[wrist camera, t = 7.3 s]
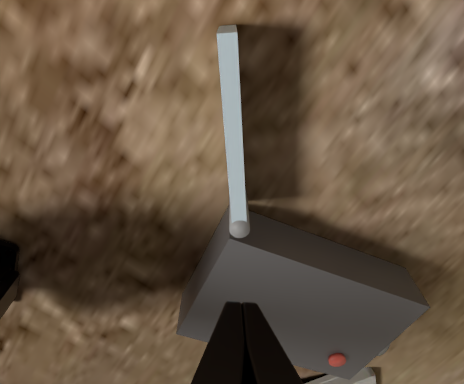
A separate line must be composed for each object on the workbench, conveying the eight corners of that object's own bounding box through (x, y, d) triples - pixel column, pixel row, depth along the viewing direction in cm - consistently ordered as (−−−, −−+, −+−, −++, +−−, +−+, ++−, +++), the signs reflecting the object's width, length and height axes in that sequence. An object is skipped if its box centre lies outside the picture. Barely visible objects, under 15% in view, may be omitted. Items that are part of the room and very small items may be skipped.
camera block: (182, 293, 25) (175, 338, 22) (229, 203, 21) (229, 242, 18) (344, 341, 29) (359, 386, 25) (414, 271, 24) (442, 314, 21)
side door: (247, 201, 21) (250, 237, 18) (230, 202, 21) (230, 238, 18) (239, 24, 16) (241, 32, 13) (216, 26, 16) (212, 34, 13)
